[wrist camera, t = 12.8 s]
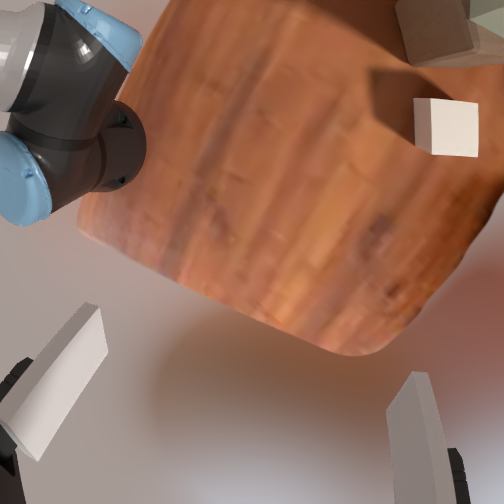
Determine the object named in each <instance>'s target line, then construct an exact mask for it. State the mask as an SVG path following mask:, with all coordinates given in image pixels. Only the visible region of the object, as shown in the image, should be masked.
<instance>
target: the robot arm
mask: <svg viewBox="0 0 504 504" xmlns="http://www.w3.org/2000/svg"><path fill="white" fill-rule="evenodd" d="M142 43H143V40H142V36H141V34H140V33H139V32H138V31H137V30H135V29H134V28H132V27H130V26H128V25H127V24H125V23H123V22H121V21H120V20H118V19H116V18H114V17H112V16H110V15H108V14H106V13H104V12H102V11H100V10H98V9H96V8H94V7H92V6H91V5H89V4H86V3H84V2H82V1H80V0H55V4H54V5H52V4H47V3H43V2H37V3H35V4H33V5H31V6H30V7H28V8H26V9H25V10H23V11H21V12H10V11H3V10H0V110H1V111H2V112H11V114H10V118H9V121H8V125H7V128H6V130H5V131H0V214H1V215H2V216H3V217H4V218H5V219H6V220H8V221H9V222H11V223H13V224H15V225H19V226H27V225H31V224H33V223H35V222H37V221H39V220H43V219H46V218H47V217H48V216H49V215H50V214H52V213H53V212H55V211H57V210H58V209H60V208H62V207H63V206H65V205H67V204H69V203H70V202H72V201H74V200H76V199H77V198H79V197H81V196H83V195H85V194H86V193H88V192H111V191H114V190H117V189H119V188H121V187H123V186H125V185H126V184H128V183H129V182H131V181H132V180H133V179H134V178H135V177H136V176H137V174H138V173H139V171H140V169H141V167H142V165H143V162H144V159H145V155H146V136H145V132H144V128H143V126H142V123H141V121H140V119H139V118H138V116H137V115H136V113H135V112H134V111H133V110H132V109H131V108H130V107H128V106H127V105H125V104H123V103H121V102H119V101H115V100H114V99H115V97H116V95H117V93H118V91H119V89H120V87H121V86H122V84H123V82H124V80H125V78H126V76H127V74H128V73H129V74H130V73H131V71H132V69H131V67H132V65H133V63H134V61H135V59H136V57H137V55H138V53H139V51H140V50H141V47H142ZM107 354H108V349H107V344H106V339H105V335H104V329H103V324H102V318H101V313H100V307H98V306H95V305H92V304H89V303H86V302H85V303H84V304H83V305H82V306H81V307H80V309H78V311H77V312H76V313H75V314H74V315H73V316H72V317H71V318H70V320H69V321H68V322H67V323H66V324H65V325H64V326H63V327H62V328H61V330H60V331H59V332H58V333H57V334H56V335H55V336H54V338H53V339H52V340H51V341H50V342H49V343H48V344H47V346H46V347H45V348H44V349H43V350H42V352H41V353H40V354H39V355H38V356H37V357H36V359H35V360H32V359H30V358H28V357H27V358H25V359H24V360H22V361H20V362H19V363H17V364H16V365H15V367H14V368H13V369H12V370H11V372H10V374H8V375H7V376H6V377H5V379H4V381H2V382H1V384H0V504H26V501H25V496H24V492H23V488H22V482H21V477H20V472H19V466H18V460H17V454H16V451H15V449H16V447H17V446H18V447H19V448H20V449H21V450H22V452H23V453H25V454H26V455H28V456H29V457H31V458H33V459H34V460H36V461H39V459H40V457H41V456H42V454H43V453H44V451H45V449H46V447H47V446H48V444H49V443H50V441H51V439H52V438H53V436H54V435H55V433H56V431H57V430H58V428H59V427H60V425H61V423H62V422H63V420H64V419H65V417H66V415H67V414H68V412H69V411H70V409H71V408H72V406H73V404H74V403H75V401H76V400H77V398H78V397H79V395H80V394H81V392H82V391H83V389H84V388H85V386H86V385H87V383H88V382H89V380H90V379H91V377H92V375H93V374H94V373H95V371H96V370H97V368H98V367H99V365H100V364H101V362H102V361H103V359H104V358H105V356H106V355H107ZM386 416H387V423H388V432H389V440H390V449H391V459H392V471H393V483H394V499H395V504H471V502H470V496H469V490H468V485H467V481H466V474H465V472H464V470H465V469H464V465H463V460H462V457H461V456H460V454H459V452H458V451H457V449H456V448H448V449H447V447H446V442H445V438H444V433H443V429H442V425H441V420H440V416H439V413H438V409H437V405H436V401H435V398H434V394H433V390H432V387H431V383H430V380H429V376H428V373H424V372H412V373H411V374H410V376H409V377H408V379H407V380H406V382H405V383H404V385H403V386H402V388H401V390H400V391H399V393H398V394H397V395H396V397H395V398H394V400H393V401H392V403H391V404H390V405H389V407H388V408H387V410H386Z"/></svg>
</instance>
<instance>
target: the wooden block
mask: <svg viewBox="0 0 504 504" xmlns="http://www.w3.org/2000/svg"><path fill="white" fill-rule="evenodd" d="M395 11H396V15H397V18H398V22H399V26H400V29H401V33H402V37H403V41H404V45H405V50H406V54H407V59H408V62H409V63H410V65H411V66H413V67H454V68H467V67H475V66H484V65H494V64H504V38H502V37H501V36H499V35H497V34H495V33H494V32H492V31H490V30H488V29H486V28H484V27H483V26H481V25H479V24H477V23H475V22H473V21H471V20H469V17H470V0H398V2H397V3H396V4H395Z"/></svg>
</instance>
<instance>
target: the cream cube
mask: <svg viewBox="0 0 504 504" xmlns="http://www.w3.org/2000/svg"><path fill="white" fill-rule="evenodd" d="M413 102H414V122H415V146H416V147H418V148H420V149H422V150H424V151H426V152H428V153H430V154H435V155H455V156H470V157H478V104H477V103H469V102H462V101H453V100H444V99H433V98H413Z"/></svg>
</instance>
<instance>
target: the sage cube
mask: <svg viewBox="0 0 504 504" xmlns="http://www.w3.org/2000/svg"><path fill="white" fill-rule="evenodd" d="M469 20H471V21H473V22H475V23H477V24H479V25H481V26H483V27H484V28H486V29H488V30H490V31H492V32H494V33H495V34H497V35H499V36H501V37H502V38H504V0H470V17H469Z"/></svg>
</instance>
